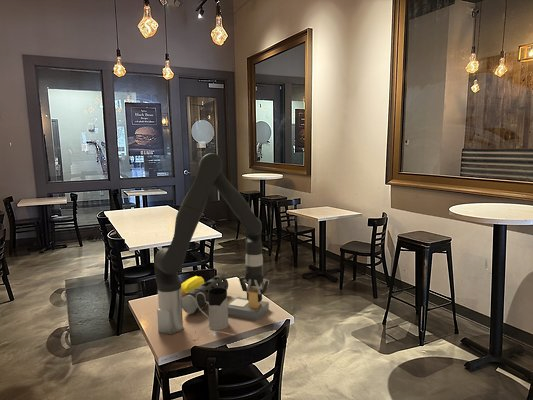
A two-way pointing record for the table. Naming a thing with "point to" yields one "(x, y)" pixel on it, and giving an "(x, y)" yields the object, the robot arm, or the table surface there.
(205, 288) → the muzzle brake
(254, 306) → the plug
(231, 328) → the table surface
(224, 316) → the white pitcher
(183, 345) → the table surface
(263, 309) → the block
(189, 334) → the table surface
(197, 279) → the yellow banana
